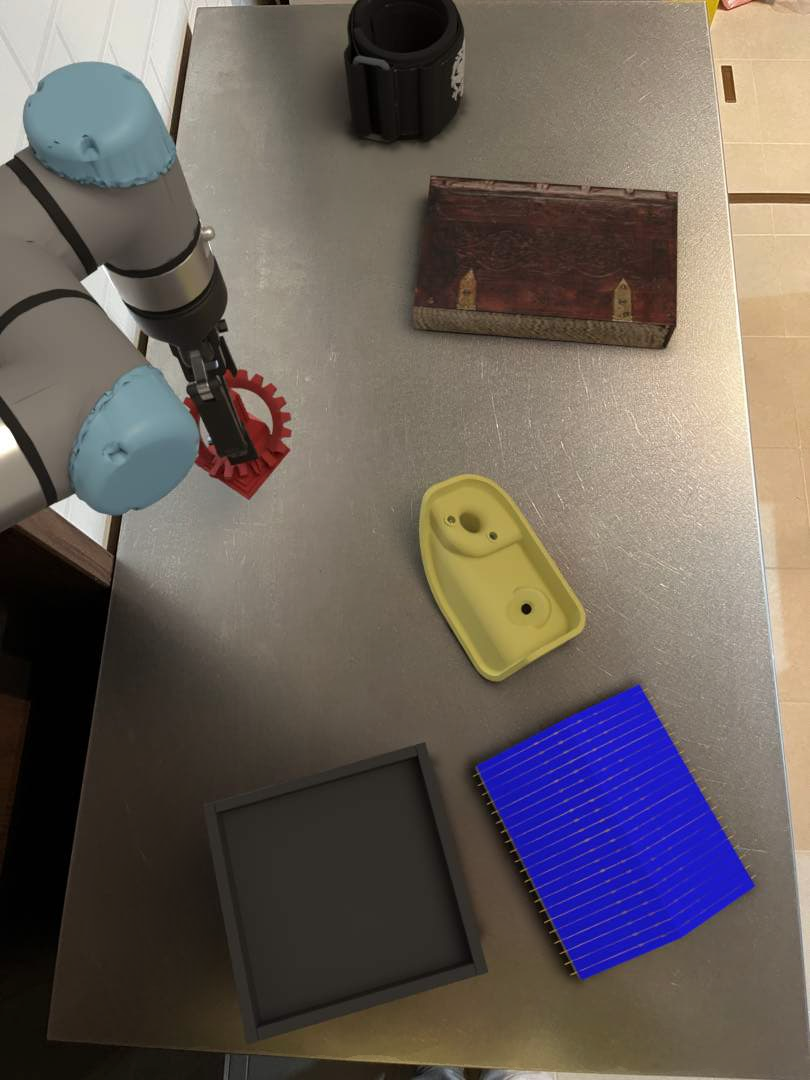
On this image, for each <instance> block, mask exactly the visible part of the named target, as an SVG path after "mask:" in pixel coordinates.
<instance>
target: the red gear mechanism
mask: <svg viewBox="0 0 810 1080" xmlns="http://www.w3.org/2000/svg"><path fill="white" fill-rule="evenodd" d="M237 370H238V372H237V375H236V378H233V376H232V374H231V371H230V370H229V369H226V373H225V374H224V377H225V380H226V383H227V386H228V389H229V391H230V394H231V397H232V400H233V403H234V405H235V408H236V411H237V414H238V417H239V419H240V421H243V422H244V424H245V426H246V429H247V431H248V433H249V435H250V437H251V440H252V442H253V444H254V446H255V448H256V450H257V453H258V457H259V459H256V460H252V461H248V462H244V463H240V464H237V465H233V466H231V464H230V462H229V460H228V458H227V457H223V458H220V457H219V456H218V455H217V453H216V449H215V447H214V445H211V446H209V445H208V446H207V445H206V444H205V441H204V439H203V437H202V434H201V433H202V432H201V427H200V424H201V423H200V422H201V416H200V414H199V412H198V410H197V408H196V406H195V404H194V403H193V401H192V400H191V398H190V396H185V398H184V399H183V401H182V403H183V404H184V406H185V407H186V408H187V409H189V410H188V411H189V412H190V414H191V415H192V417H193V418H194V420H195V422H196V424H197V427H198V430H199V432H200V435H199V436H200V439H199V450H198V454H197V457H196V460H195V462H194V464H195V465H196V466H198V468H200V469H202V470H203V471H205V472H207V473H208V476H209V477H211V478H214V479H216V480H219V481H220V482H222V483H223V484H224V485H225V486H227V487H229V488H230V489H231V490H233V491H235V492H236V493H237V494H239V495H240V496H242V497H243V498H245V499H247V500H248V501H250V500H251V499H252V498H253V497H254V496H255V494H256V493H257V492H258V491H259V489H260V488H261V487H262V486H263V484H264V483H265V482H266V481H267V480H268V478H269V477H270V476H271V475H272V473H274V471H275V470H276V468H278V466H279V465H280V464H281V462H282V461H283V460H284V459H285V458H286V456H287V455H289V453H290V452H291V448H290V447H288V445H287V444H285V442H283V440H282V439H286V438H292V431H293V430H292V429H290V428H287V427H285V426H284V424H285V423H288V422H290V421H292V415H291V412H288V411H281V409H282V408H283V407H285V406H286V405H287V404H288V402H287V401H286V399H285V397H284V396H283V395H281V396H277V397H274V395H275V393H276V392H277V390H278V387H276V386H275V385H274V384H273V383H272V382H270V383H268V384H267V385H265V386H263V382H264V377H263V376H262V375H260V374H259V373H255V374H254V375H253V376H252V377H251V379H249V374H248V370H247V369H242V368H238V369H237ZM234 389H241V390H246V391H249V392H251V393H253V394H255V395H256V396H257V397H259V398H260V399H261V400H262V401H263V402H264V404H265V406H267V408H268V410H269V413H270V416H271V421H272V431H271V430H270V429H271V428H270V427H269V426H268V425H267V423H266V422H264V421H263V420H261V419H260V418H258V417H256V416H255V415H254V414H252V413H250V412H249V411H247V408H246V406H245V403H244V401H243V399H242V397H241V395H240V393H238V392H237V391H235V390H234Z"/></svg>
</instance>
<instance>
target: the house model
mask: <svg viewBox="0 0 810 1080" xmlns="http://www.w3.org/2000/svg"><path fill="white" fill-rule="evenodd" d="M647 690H649V687H648V688H646V689H643V688H642V686H641V684H637V685H635V686H633V687H631V688H629V689H627V690H625V691H622V692H620V693H618V694H616V695H614V696H612V697H610V698H607V699H606V700H603V701H601V702H599V703H596V704H595V705H592V706H590V707H588V708H586V709H584V710H581V711H580V712H578V713H576V714H574V715H571V716H569V717H567V718H565V719H563V720H561V721H559V722H557V723H556V724H553V725H551V726H549V727H548V728H546V729H544V730H542V731H540V732H539V733H536V734H534V735H532V736H531V737H529V738H527V739H525V740H523V741H521V742H520V743H517V744H515V745H513V746H512V747H510V748H508V749H506V750H504V751H503V752H500V753H499V754H496V755H494V756H492V757H491V758H489V759H487V760H485V761H483V762H481V763H479V764H478V765H476V766H475V771H476V774H474V775H472V777H473V778H475V776H477V775H478V777H479V779H480V781H481V783H480V784H478V785H477V786H478V787H479V786H481V785H482V786H483V787H484V789H485V791H486V792H485V793H482V796H484V795H486V794H487V795H488V798H489V800H490V802H488V803H487V805H490V804H491V803H492V806H493V808H494V810H495V811H493V812H492V813H491V815H492V814H495V813H496V814H497V816H498V818H499V821H497V822H496V824H499V823H501V824H502V826H503V828H504V830H502V831H501V832H500V834H503V833H504V832H506V835H507V836H508V838H509V840H507V841H505V842H504V843H508V842H510V844H512V847H513V850H511V851H509V853H512V852H515V853H516V856H517V857H518V860H515V863H517V862H519V861H520V864H521V865H522V867H523V869H522V870H520V871H519V873H521V872H525V873H526V876H527V877H528V879H527V880H525V881H524V883H526V882H528V881H530V884H531V885H532V887H533V889H532V890H530V891H529V893H531V892H535V894H536V896H537V897H538V899H537V900H535V901H534V903H537V902H540V904H541V906H542V908H543V910H540V911H539V914H540V913H542V912H545V914H546V916H547V918H548V920H546V921H544V924H546V923H548V922H550V924H551V926H552V928H553V930H551V931H550V932H549V934H551V933H555V934H556V936H557V939H558V940H557V941H555V944H557V943H559V944H561V947H562V949H563V951H562V952H560V953H559V955H561V954H564V953H565V955H566V957H567V958H568V962H566V963H564V965H568V964H570V965H571V967H572V969H573V971H574V972H572V973H570V976H572V975H576V976H577V977H578V978H579V979H580V980H581V981H583V980H585V979H587V978H590V977H592V976H595V975H597V974H599V973H602V972H604V971H606V970H609V969H611V968H614V967H616V966H619V965H622V964H624V963H625V962H628V961H630V960H632V959H635V958H637V957H640V956H642V955H644V954H647V953H649V952H651V951H654V950H656V949H659V948H661V947H663V946H665V945H669V944H670V943H673V942H676V941H677V940H680V939H682V938H683V937H685V936H686V935H688V934H689V933H691V932H692V931H693V930H695V929H696V928H698V927H699V926H701V925H702V924H703V923H705V922H706V921H707V920H709V919H711V918H712V917H714V916H715V915H716V914H718V913H719V912H721V911H722V910H724V909H726V907H729V905H731V904H732V903H734V902H735V901H736V900H738V899H740V898H741V897H742V896H744V895H745V894H746V893H748V892H749V891H751V890H752V889H754V888H755V887H756V884H755V883H754V881H753V880H752V879H753V878H755V877H756V876H757V874H754V875H753V876H750V875H749V872H748V870H747V868H749V867H750V866H751V864H749V865H747V866H744V864H743V862H742V860H741V859H742V858H743V857H745V856H746V855H745V854H743V855H741V856H740V857H739V854H737V852H736V850H735V849H736V848H737V847H739V846H740V844H738V845H736V846H733V844H732V843H731V841H730V840H729V839H731V838H732V837H734V836H735V835H734V834H732V835H731V836H729V837H728V836H727V834H726V832H725V830H724V829H727V827H728V825H726V826H723V827H722V826H721V823H720V822H719V819H721V818H722V817H723V815H721V816H719V817H716V815H715V813H714V811H713V810H714V809H716V808H717V807H718V806H717V805H716V806H715V807H713V808H711V806H710V805H709V803H708V800H709V799H711V798H712V796H710V797H708V798H706V797H705V795H704V794H703V792H702V791H704V789H706V788H707V787H706V786H705V787H703V788H702V789H700V787H699V785H698V783H697V782H698V781H700V780H701V777H700V778H697V779H695V778H694V777H693V775H692V773H691V772H693V771H694V770H696V768H694V769H692V770H689V768H688V766H687V765H686V763H688V762H689V761H690V759H687V760H685V761H684V759H683V758H682V755H681V754H682V753H683V752H685V749H684V750H682V751H681V752H679V751H678V749H677V747H676V746H675V745H676V744H678V743H679V741H677V742H673V740H672V739H671V737H670V736H672V734H675V732H674V731H673V732H672V733H668V731H667V730H666V726H667V725H669V724H670V723H669V722H668V723H666V724H665V725H664V724H663V723H662V721H661V719H660V718H661V717H663V716H664V715H665V714H663V713H662V715H659V716H658V714H657V712H656V710H655V709H657V708H658V707H659V705H657V706H655V707H653V705H652V704H651V702H650V700H652V699H653V698H654V696H652V697H650V698H648V697H647V695H646V693H645V691H647Z"/></svg>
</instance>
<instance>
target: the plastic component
mask: <svg viewBox="0 0 810 1080" xmlns="http://www.w3.org/2000/svg"><path fill="white" fill-rule="evenodd" d="M418 534H419V535H418V536H419V537H418V538H419V546H420V547H419V548H420V555H421V561H422V565H423V569H424V573H425V577H426V579H427V583H428V586H429V588H430V591H431V593H432V596H433V598H434V599H435V603H436V604H437V606H438V608H439V610H440V612H441V613H442V615H443V617H444V618H445V620H446V622H447V623H448V625H449V627H450V629H451V630H452V631H453V633H454V634H455V637H456V638H457V640H458V642H459V643H460V645H461V646H462V648H463V650H464V651H465V653H466V654H467V657H468V659H469V660H470V661H471V663H472V665H473V667H474V668H475V669H476V671H477V672H478V673H479V674H480V675H481V676H482V677H483V678H484V679H486V680H488V681H490V682H502V681H503V680H506V679H507V678H508V677H511V675H513V674H515V673H516V672H518V671H520V670H521V669H523V668H524V667H526V666H529V665H530V664H531V663H533V662H535V661H537V660H538V659H540V658H542V657H544V656H545V655H547V654H549V653H551V652H552V651H554V650H555V649H557V648H559V647H561V646H563V645H564V644H566V643H567V642H569V641H570V640H572V639H574V638H575V637H576V636H578V635H579V634H581V633H582V632H583V630H584V628H585V625H586V621H587V618H586V617H587V616H586V613H585V609H584V607H583V605H582V603H581V602H580V600H579V598H578V597H577V595H576V594H575V592H574V591H573V589H572V588H571V586H570V584H569V583H568V582H567V580H566V579H565V577H564V575H563V574H562V572H561V571H560V569H559V568H558V566H557V565H556V563H555V562H554V560H553V559H552V557H551V556H550V554H549V552H548V551H547V549H546V547H545V546H544V545H543V543H542V542H541V540H540V539H539V537H538V536H537V534H536V532H535V530H534V529H533V528H532V526H531V525H530V523H529V521H528V520H527V518H526V517H525V516H524V514H523V512H522V511H521V510H520V508H519V507H518V505H517V504H516V503H515V501H514V500H513V499H512V497H511V496H510V495H509V494H508V492H507V491H505V489H503V488H502V486H500V485H499V484H497V483H496V482H495V481H493V480H491V479H489V478H487V477H485V476H482V475H479V474H473V473H464V474H460V475H456V476H454V477H450V478H448V479H446V480H444V481H441V482H438V483H436V484H433V485H432V486H430V487H429V488H428V489H427V490H426V492H424V494H423V497H422V500H421V505H420V512H419V523H418ZM491 536H492V537H493V538H491ZM526 604H527V605H529V606H530V608H531V611H530V612H529V613H528V614H525V613H524V612H523V611H522V608H523V606H524V605H526Z"/></svg>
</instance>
